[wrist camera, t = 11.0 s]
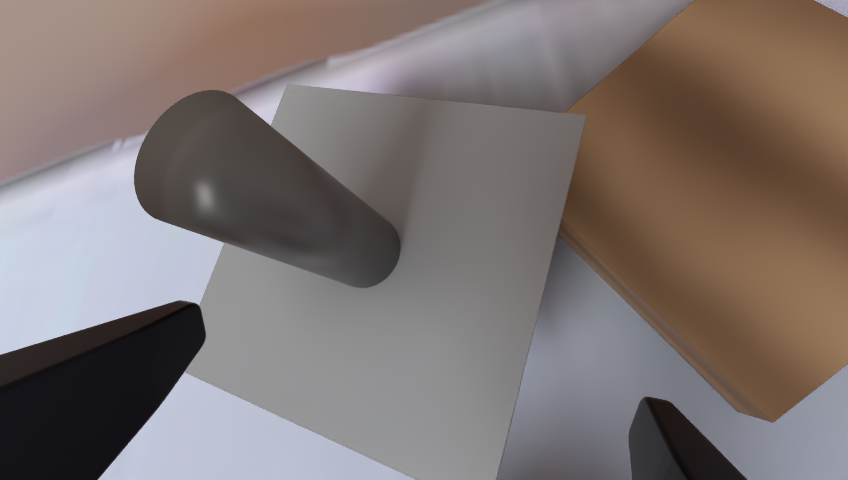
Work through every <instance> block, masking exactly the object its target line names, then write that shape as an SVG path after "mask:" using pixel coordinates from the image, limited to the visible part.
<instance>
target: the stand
mask: <svg viewBox="0 0 848 480" xmlns="http://www.w3.org/2000/svg"><path fill="white" fill-rule="evenodd" d="M565 113H571V114H581V115H586V122H585V127H584V131H583V135H582V139H581V143H580V147H579V151H578V155H577V159H576V163H575V167H574V171H573V175H572V179H571V183H570V187H569V191H568V195H567V200H566V204H565V208H564V212H563V216H562V220H561V224H560V228H559V232H558V234H559V235H560V236H561V237H562V238H563V239H564V240H565V241H566V242H567V243H568V244H569V245H570V246H571V247H572V248H573V249H574V250H575V251H576V252H577V253H578V254H579V255H580V256H581V257H582V258H583V259H584V260H585V261H586V262H587V263H588V264H589V265H590V266H591V267H592V268H593V269H594V270H595V271H596V272H597V273H598V274H599V275H600V276H601V277H602V278H603V279H604V280H605V281H606V282H607V283H608V284H609V285H610V286H611V287H612V288H613V289H614V290H615V291H616V292H617V293H618V294H619V295H620V296H621V297H622V298H623V299H624V300H625V301H626V302H627V303H628V304H629V305H630V306H631V307H632V308H633V309H634V310H635V311H636V312H637V313H638V314H639V315H640V316H641V317H642V318H643V319H644V320H645V321H646V322H647V323H648V324H649V325H651V326H652V327H653V328H654V329H655V330H656V331H657V332H658V333H659V334H660V335H661V336H662V337H663V338H664V339H665V340H666V341H667V342H668V343H669V344H670V345H671V346H672V347H673V348H674V349H675V350H676V351H677V352H678V353H679V354H680V355H681V356H682V357H683V358H684V359H685V360H686V361H687V362H688V363H689V364H690V365H691V366H692V367H693V368H694V369H695V370H696V371H697V372H698V373H699V374H700V375H701V376H702V377H703V378H704V379H705V380H706V381H707V382H708V383H709V384H710V385H711V386H712V387H713V388H714V389H715V390H716V391H717V392H718V393H719V394H720V395H721V396H722V397H723V398H724V399H725V400H726V401H727V402H728V403H729V404H730V405H731V406H732V407H733V408H734V409H735V410H736V411H737V412H740V413H743V414H747V415H750V416H753V417H757V418H760V419H763V420H766V421H770V422H774V421H776V420H777V419H778V418H780V417H781V416H782V415H783V414H785V413H786V412H787V411H788V410H790V409H791V408H792V407H794V406H795V405H796V404H797V403H799V402H800V401H801V400H803V399H804V398H805V397H806V396H808V395H809V394H810V393H811V392H813V391H814V390H815V389H817V388H818V387H819V386H820V385H822V384H823V383H824V382H825V381H827V380H828V379H829V378H831V377H832V376H833V375H834V374H836V373H837V372H838V371H840V370H841V369H842V368H843V367H845V366H846V365H847V364H848V18H847V17H845V16H843V15H841V14H839V13H838V12H836V11H834V10H832V9H830V8H828V7H826V6H824V5H822V4H820V3H818V2H816V1H814V0H694V1H693V2H692V3H691V4H690V5H689V6H687V7H686V8H685V9H684V10H683V11H682V12H681V13H679V14H678V15H677V16H676V17H675V18H674V19H672V20H671V21H670V22H669V23H668V24H667V25H665V26H664V27H663V28H662V29H661V30H660V31H659V32H657V33H656V34H655V35H654V36H653V37H652V38H650V39H649V40H648V41H647V42H646V43H645V44H644V45H642V46H641V47H640V48H639V49H638V50H637V51H635V52H634V53H633V54H632V55H631V56H630V57H629V58H627V59H626V60H625V61H624V62H623V63H622V64H620V65H619V66H618V67H617V68H616V69H615V70H614V71H612V72H611V73H610V74H609V75H608V76H607V77H605V78H604V79H603V80H602V81H601V82H600V83H599V84H597V85H596V86H595V87H594V88H593V89H592V90H590V91H589V92H588V93H587V94H586V95H585V96H583V97H582V98H581V99H580V100H579V101H578V102H577V103H575V104H574V105H573V106H572V107H571V108H570V109H568V110H567V111H566V112H565Z"/></svg>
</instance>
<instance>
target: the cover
mask: <svg viewBox="0 0 848 480" xmlns="http://www.w3.org/2000/svg"><path fill="white" fill-rule="evenodd" d="M585 122H586V115H581V114H571V113H562V112H552V111H542V110H533V109H523V108H513V107H504V106H494V105H484V104H475V103H465V102H455V101H446V100H436V99H427V98H417V97H407V96H398V95H388V94H378V93H369V92H359V91H349V90H340V89H330V88H320V87H311V86H301V85H291V84H287V86H286V88H285V91H284V93H283V96H282V99H281V101H280V104H279V106H278V109H277V111H276V114H275V116H274V119H273V121H272V124H271V126H270V125H269V124H268V123H266V122H265V121H264V120H263V119H262V118H260V117H259V116H258V115H257V114H255V113H254V112H253V111H252V110H250V109H249V108H248V107H247V106H246V105H244V104H243V103H242V102H241V101H239V100H238V99H237V98H236V97H234V96H232V95H231V94H229V93H226V92H223V91H218V90H207V91H201V92H197V93H194V94H192V95H189V96H187V97H185V98H183V99H181V100H180V101H178V102H177V103H175V104H174V105H173V106H171V107H170V108H169V109H168V110H167V111H166V112H164V114H162V116H161V117H160V118H159V119H158V120H157V121H156V122H155V124H154V125H153V126H152V128H151V129H150V131H149V132H148V134H147V136H146V137H145V139H144V141H143V143H142V146H141V148H140V151H139V153H138V157H137V160H136V165H135V173H134V185H135V191H136V195H137V198H138V200H139V202H140V204H141V206H142V207H143V209H144V210H145V211H146V212H147V213H148V214H149V215H151V216H152V217H154V218H155V219H158V220H160V221H163V222H166V223H169V224H172V225H175V226H178V227H181V228H184V229H186V230H189V231H192V232H195V233H198V234H201V235H204V236H207V237H210V238H213V239H216V240H218V241H221V242H224V245H223V247H222V250H221V252H220V255H219V257H218V260H217V262H216V265H215V267H214V270H213V272H212V275H211V278H210V280H209V283H208V285H207V288H206V290H205V293H204V295H203V298H202V300H201V303H200V305H199V306H200V308H201V311H202V316H203V321H204V325H205V330H206V340H205V342H204V345H203V346H202V348H201V349H200V351H199V352H198V353H197V355H196V356H195V358H194V359H193V360H192V362H191V363H190V365H189V366H188V367H187V369H186V370H185V373H187V374H190V375H192V376H194V377H196V378H198V379H200V380H202V381H205V382H207V383H209V384H211V385H213V386H215V387H218V388H220V389H222V390H224V391H226V392H228V393H230V394H233V395H235V396H237V397H239V398H241V399H243V400H246V401H248V402H250V403H252V404H254V405H256V406H259V407H261V408H263V409H265V410H267V411H269V412H271V413H274V414H276V415H278V416H280V417H282V418H284V419H287V420H289V421H291V422H293V423H295V424H297V425H299V426H302V427H304V428H306V429H308V430H310V431H312V432H315V433H317V434H319V435H321V436H323V437H325V438H328V439H330V440H332V441H334V442H336V443H338V444H340V445H343V446H345V447H347V448H349V449H351V450H353V451H356V452H358V453H360V454H362V455H364V456H366V457H368V458H371V459H373V460H375V461H377V462H379V463H381V464H384V465H386V466H388V467H390V468H392V469H394V470H397V471H399V472H401V473H403V474H405V475H407V476H409V477H412V478H414V479H416V480H497V478H498V474H499V470H500V466H501V462H502V458H503V454H504V450H505V446H506V442H507V438H508V434H509V430H510V426H511V422H512V417H513V413H514V409H515V405H516V401H517V397H518V393H519V389H520V385H521V381H522V377H523V373H524V369H525V365H526V361H527V357H528V353H529V349H530V345H531V341H532V337H533V333H534V329H535V325H536V321H537V317H538V313H539V308H540V304H541V300H542V296H543V292H544V288H545V284H546V280H547V276H548V272H549V268H550V264H551V260H552V256H553V252H554V248H555V244H556V240H557V236H558V232H559V228H560V224H561V220H562V216H563V212H564V208H565V204H566V200H567V195H568V191H569V187H570V183H571V179H572V175H573V171H574V167H575V163H576V159H577V155H578V151H579V147H580V143H581V139H582V135H583V131H584V127H585Z"/></svg>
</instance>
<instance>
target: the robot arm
mask: <svg viewBox="0 0 848 480" xmlns="http://www.w3.org/2000/svg"><path fill="white" fill-rule="evenodd" d="M205 340H206V330H205V325H204V321H203V316H202V311H201V308H200V306H199V305H198V304H196V303H192V302H187V301H181V300H180V301H175V302H172V303H168V304H165V305H162V306H159V307H155V308H152V309H149V310H146V311H142V312H139V313H136V314H132V315H129V316H126V317H123V318H119V319H116V320H113V321H110V322H106V323H103V324H100V325H97V326H93V327H90V328H87V329H83V330H80V331H77V332H74V333H70V334H67V335H64V336H61V337H57V338H54V339H51V340H48V341H44V342H41V343H38V344H34V345H31V346H28V347H25V348H21V349H18V350H15V351H12V352H8V353H5V354H2V355H0V480H98V479H99V478H100V476H101V475H102V474H103V473H104V472H105V471H106V469H107V468H108V467H109V466H110V465H111V464H112V462H113V461H114V460H115V459H116V458H117V456H118V455H119V454H120V453H121V452H122V451H123V449H124V448H125V447H126V446H127V445H128V443H129V442H130V441H131V440H132V439H133V438H134V436H135V435H136V434H137V433H138V432H139V430H140V429H141V428H142V427H143V426H144V425H145V423H146V422H147V421H148V420H149V419H150V417H151V416H152V415H153V414H154V413H155V411H156V410H157V409H158V408H159V406H160V405H161V404H162V402H163V401H164V400H165V398H166V397H167V396H168V394H169V393H170V391H171V390H172V389H173V387H174V386H175V384H176V383H177V382H178V380H179V379H180V377H181V376H182V375H183V373H184V372H185V370H186V369H187V367H188V366H189V365H190V363H191V362H192V360H193V359H194V358H195V356H196V355H197V353H198V352H199V351H200V349H201V348H202V346H203V345H204V342H205ZM629 450H630V460H631V470H632V480H747V479H746V478H745V477H744V476H743V475H742V474H741V473H740V472H739V471H738V470H737V469H736V468H735V467H734V466H733V465H732V464H731V463H730V462H729V461H728V460H727V459H726V458H725V457H724V456H723V454H722V453H721V452H720V451H719V450H718V449H717V448H716V447H715V446H714V445H713V444H712V443H711V442H710V441H709V440H708V439H707V438H706V437H705V436H704V435H703V434H702V433H701V432H700V431H699V430H698V429H697V428H696V427H695V426H694V425H693V424H692V423H691V422H690V421H689V420H688V419H687V418H686V417H685V416H684V415H683V414H682V413H681V412H680V411H679V410H678V409H677V408H676V407H675V406H674V405H673V404H672V403H670V402H669V401H666V400H662V399H657V398H652V397H644V398H643V399H642V400H641V401H640V403H639V406H638V409H637V411H636V414H635V417H634V419H633V422H632V425H631V427H630V431H629Z"/></svg>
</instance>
